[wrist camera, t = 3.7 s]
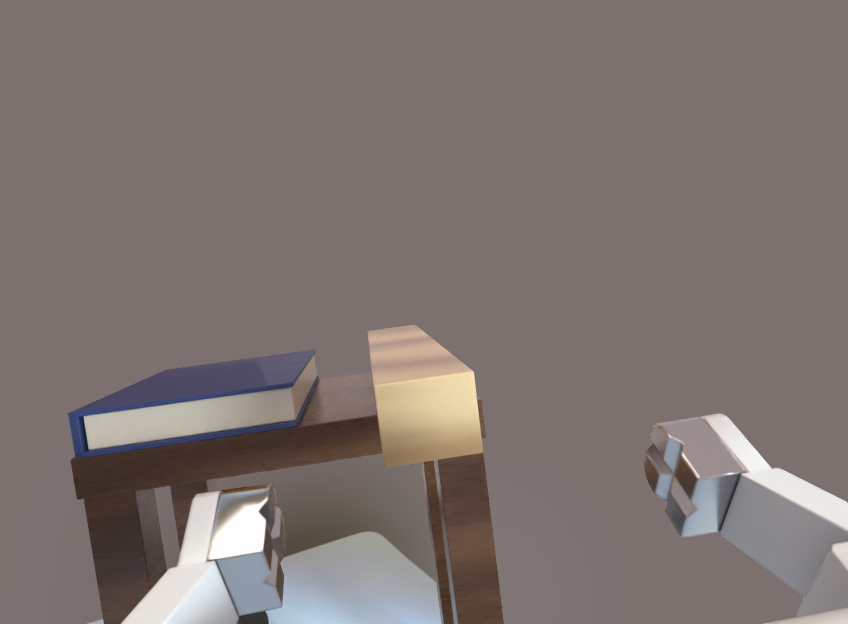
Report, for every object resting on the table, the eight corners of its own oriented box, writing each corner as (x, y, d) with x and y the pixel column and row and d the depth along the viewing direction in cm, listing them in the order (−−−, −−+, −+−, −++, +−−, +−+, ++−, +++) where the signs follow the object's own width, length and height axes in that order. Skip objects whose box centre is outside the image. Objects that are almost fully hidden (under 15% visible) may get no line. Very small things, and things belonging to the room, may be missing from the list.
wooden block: (483, 453, 21) (473, 371, 21) (384, 468, 21) (373, 385, 20) (420, 364, 44) (415, 324, 44) (372, 370, 44) (367, 331, 43)
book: (298, 426, 29) (292, 382, 29) (75, 458, 28) (67, 413, 28) (319, 379, 43) (315, 349, 42) (171, 399, 42) (166, 369, 41)
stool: (535, 858, 31) (481, 399, 30) (149, 945, 29) (69, 459, 28) (482, 680, 45) (443, 362, 44) (218, 731, 43) (167, 400, 42)
